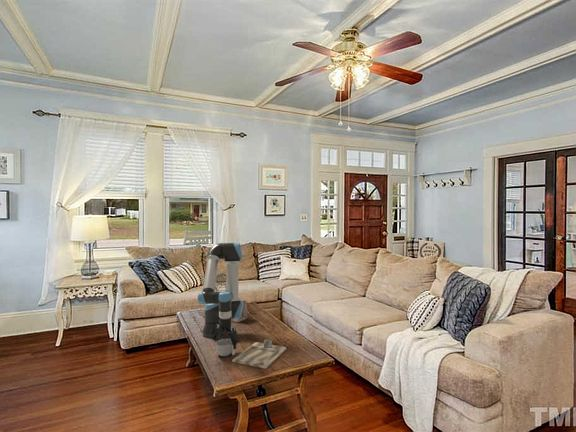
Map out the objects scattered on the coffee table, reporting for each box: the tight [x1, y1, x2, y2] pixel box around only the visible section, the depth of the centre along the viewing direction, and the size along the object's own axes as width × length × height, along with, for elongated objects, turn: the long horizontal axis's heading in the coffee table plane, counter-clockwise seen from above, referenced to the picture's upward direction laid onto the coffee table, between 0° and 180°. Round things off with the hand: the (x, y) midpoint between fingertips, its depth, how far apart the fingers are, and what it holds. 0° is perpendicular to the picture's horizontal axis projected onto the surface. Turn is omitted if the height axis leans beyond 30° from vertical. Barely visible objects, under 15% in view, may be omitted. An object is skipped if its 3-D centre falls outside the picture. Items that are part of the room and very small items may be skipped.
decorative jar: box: [231, 296, 248, 323], centre depth 267 cm, size 12×12×18 cm
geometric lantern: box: [214, 272, 227, 292], centre depth 281 cm, size 16×16×35 cm
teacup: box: [214, 338, 238, 357], centre depth 204 cm, size 14×11×8 cm
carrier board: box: [232, 338, 287, 369], centre depth 201 cm, size 22×28×5 cm
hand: (225, 352), depth 204 cm, fingers closed on teacup, 11 cm apart
